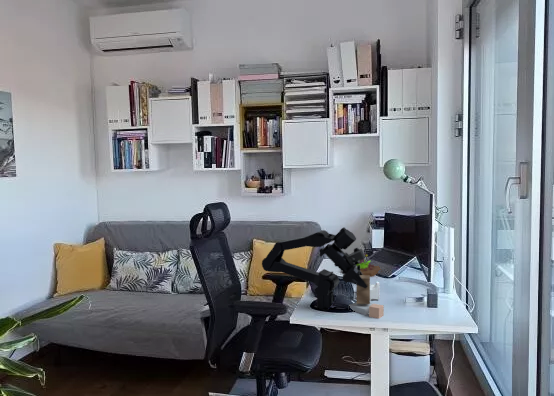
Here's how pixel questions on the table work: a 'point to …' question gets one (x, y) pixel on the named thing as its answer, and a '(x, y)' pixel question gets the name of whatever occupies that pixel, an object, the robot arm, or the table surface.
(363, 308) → the grey base block
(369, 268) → the plant
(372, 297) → the bracket
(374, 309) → the terracotta cube
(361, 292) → the walnut pillar
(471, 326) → the table surface
